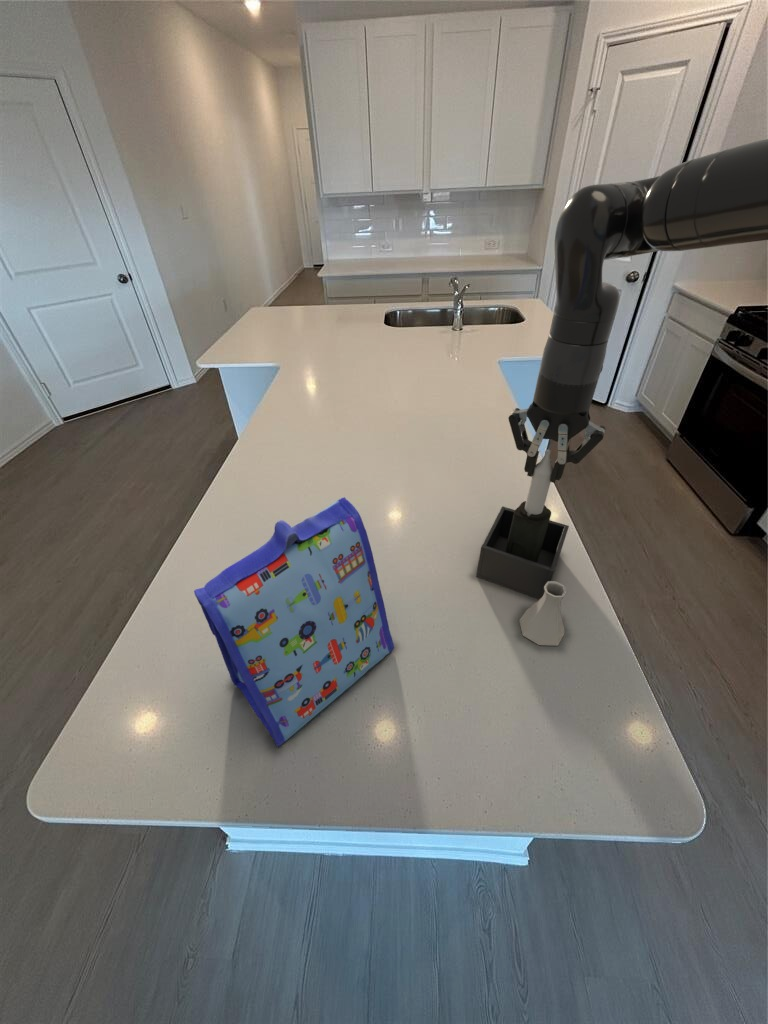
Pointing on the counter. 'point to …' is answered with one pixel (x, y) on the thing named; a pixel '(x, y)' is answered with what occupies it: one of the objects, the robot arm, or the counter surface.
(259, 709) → the lunch bag
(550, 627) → the flask
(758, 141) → the robot arm
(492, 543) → the bin
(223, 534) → the counter surface
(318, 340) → the counter surface
